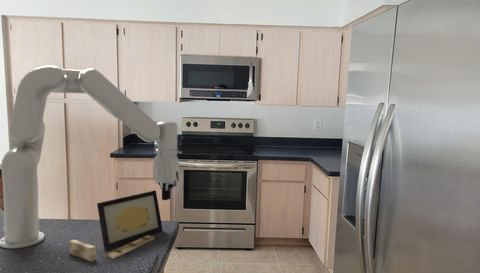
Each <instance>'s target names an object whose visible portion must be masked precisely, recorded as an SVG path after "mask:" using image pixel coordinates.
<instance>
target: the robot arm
mask: <svg viewBox="0 0 480 273" xmlns="http://www.w3.org/2000/svg"><path fill="white" fill-rule="evenodd" d="M51 93H55V94H56V93H57V94H59V93H60V94H62V93H63V94H87V95H88V97H90V98H91V99H93V100H94V101H95V102H96V103H97V104H98V105H99V106H100V107H101V108H102V109H104V110H105V111H106V112H107V113H109V114H110V115H111V116H113V117H114V118H116V119H117V120H119V121H120V122H121V123H123V124H124V125H126V126H127V127H128V128H130V130H131V131H132V132H134V133H135V134H136V135H137V137H138V138H139V139H141V140H143V141H144V142H147V143H154V142H156V143H157V144H156V149H155V152H156V155H155V157H154V161H153V166H152V167H153V168H152V180H153V181H154V183H155V184H157V185H159V187H160V190H161V200H162V201H168V200H171V190H172V189H173V188H174V187H178V186H179V182H180V162H179V158H178V153H177V152H178V123H177V122H175V121H169V120H167V121H166V120H165V121H154V120H153V118H151V117H150V116H149V115H148V114H147V113H146V112H144V110H142V108H140V107H139V106H138V105H137V104H136V103H134V102H133V100H131V99H130V98H129V97H128V95H126V94H125V93H123V92H122V91H121V90H120V88H118V87H117V86H115V84H113V83H112V82H111V81H110V80H109V79H108V78H107V77H106V76H105V75H103V74H102V73H101V72H100V71H99V70H97V69H95V68H86V69H81V70H80V69H65V68H61V67H58V66H56V65H44V66H39V67H36V68H34V69H32V70H30V71H29V72H27V73H26V74H24V76H23V77H22V78H21V80H20V82H19V84H18V87H17V90H16V95H15V101H14V105H13V109H12V115H11V121H10V124H9V130H8V132H9V134H10V136H11V140H10V146H9V150H8V151H6V153H5V154H4V155H3V157H2V160H1V166H0V167H1V168H0V169H1V177H2V188H3V189H2V190H3V209H4V212H3V215H4V227H3V228H2V231H3V232H4V236H3V237H1V238H0V248H4V249H21V248H27V247H31V246H35V245H36V244H39V243H41V242H42V241H44V239H45V233H44V232H42V231H40V229H39V228H40V223H39V222H40V221H39V220H40V218H39V217H40V216H39V182H38V181H39V180H38V178H39V177H38V165H39V163H40V160H41V156H42V150H43V143H44V139H45V131H46V125H45V122H44V115H45V109H46V104H47V99H48V96H49V95H50V94H51Z"/></svg>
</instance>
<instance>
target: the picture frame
mask: <svg viewBox="0 0 480 273" xmlns="http://www.w3.org/2000/svg"><path fill="white" fill-rule="evenodd" d="M96 205H97V212H98V220H99V225H100V226H99V227H100V232H101V238H102V244H103V249H104V250H105V251H106V250H109V249H113V248H116V247H118V246H120V245H123V244H124V245H125V244H126V243H127V244H128V243H131V242H133V241H136V240H138V239H140V238H141V237H145V236H147V235H149V236H151V235H153V234H155V233H158V232H161V231H163V224H162V218H161V213H160V206H159V201H158V196H157V191H156V190H151V191H146V192H142V193H137V194H134V195H133V194H132V195H127V196H124V197H120V198H115V199H111V200H106V201H101V202H97V203H96Z"/></svg>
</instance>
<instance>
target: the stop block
mask: <svg viewBox="0 0 480 273" xmlns="http://www.w3.org/2000/svg"><path fill="white" fill-rule="evenodd" d="M69 254H70V255H72V256H76V257H77V258H80V259H83V260H87V261H89V262H93V261H96V260H97V247H96V246H95V245H91V244H89V243H86V242H83V241H80V240H77V239H71V240H69Z"/></svg>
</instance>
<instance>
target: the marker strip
mask: <svg viewBox="0 0 480 273" xmlns="http://www.w3.org/2000/svg"><path fill="white" fill-rule="evenodd" d="M153 240H155V236H153V235H147V236H144V237H141V238H138V239H135V240H133V241H131V242H127V244H124V246H121V247H119V248H117V249H116V248H114V249H113V250H112V251H109V252H108V253H106V254H105V255H106V256H105V257H106V258H109V259H113V260H114V259H116V258H118V257H120V256H122V255H124V254H126V253H128V252H131V251H133V250H134V249H137V248H138V247H141V246H143V245H145V244H147V243H149V242H151V241H153Z"/></svg>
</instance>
